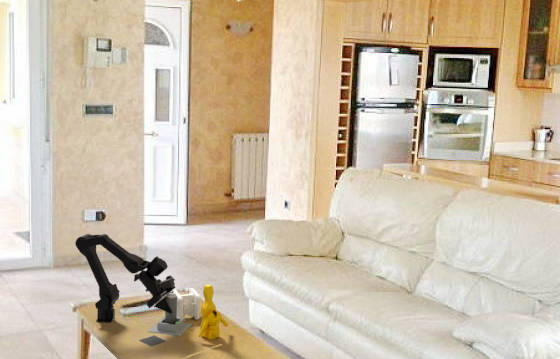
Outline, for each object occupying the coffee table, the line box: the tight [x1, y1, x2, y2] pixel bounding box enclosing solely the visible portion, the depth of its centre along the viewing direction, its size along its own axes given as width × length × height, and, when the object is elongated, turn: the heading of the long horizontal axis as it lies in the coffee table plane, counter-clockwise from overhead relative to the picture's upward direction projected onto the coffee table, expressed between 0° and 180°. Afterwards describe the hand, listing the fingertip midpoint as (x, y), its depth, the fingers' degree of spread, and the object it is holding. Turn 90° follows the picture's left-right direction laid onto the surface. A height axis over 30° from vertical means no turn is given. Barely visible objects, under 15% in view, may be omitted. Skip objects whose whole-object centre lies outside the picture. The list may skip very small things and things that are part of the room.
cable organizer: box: [171, 287, 201, 321], centre depth 304 cm, size 15×11×12 cm
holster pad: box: [138, 335, 167, 347], centre depth 276 cm, size 8×8×1 cm
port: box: [148, 316, 193, 337], centre depth 290 cm, size 14×14×4 cm
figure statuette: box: [198, 284, 229, 340], centre depth 283 cm, size 18×8×22 cm, turn 142°
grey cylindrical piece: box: [164, 293, 177, 324], centre depth 289 cm, size 5×5×13 cm
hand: (174, 310), depth 289 cm, fingers closed on grey cylindrical piece, 5 cm apart
